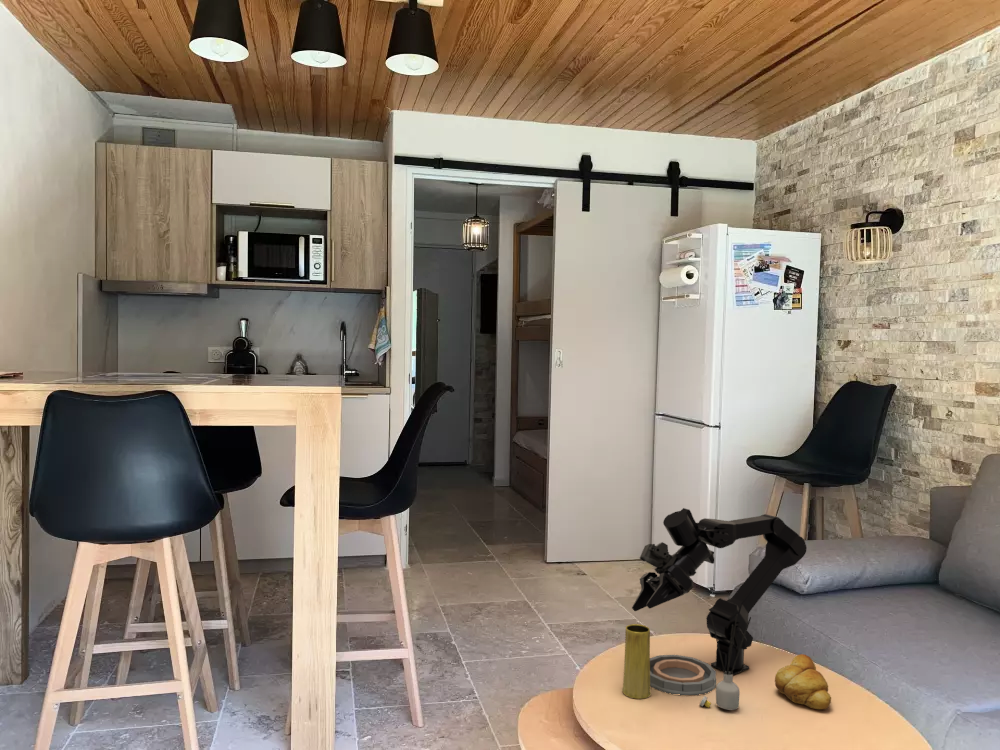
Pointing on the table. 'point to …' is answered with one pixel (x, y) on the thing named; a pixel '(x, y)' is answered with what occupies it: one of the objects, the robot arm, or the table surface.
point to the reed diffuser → (727, 680)
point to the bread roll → (803, 683)
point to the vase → (637, 662)
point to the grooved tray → (681, 675)
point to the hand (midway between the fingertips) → (640, 608)
